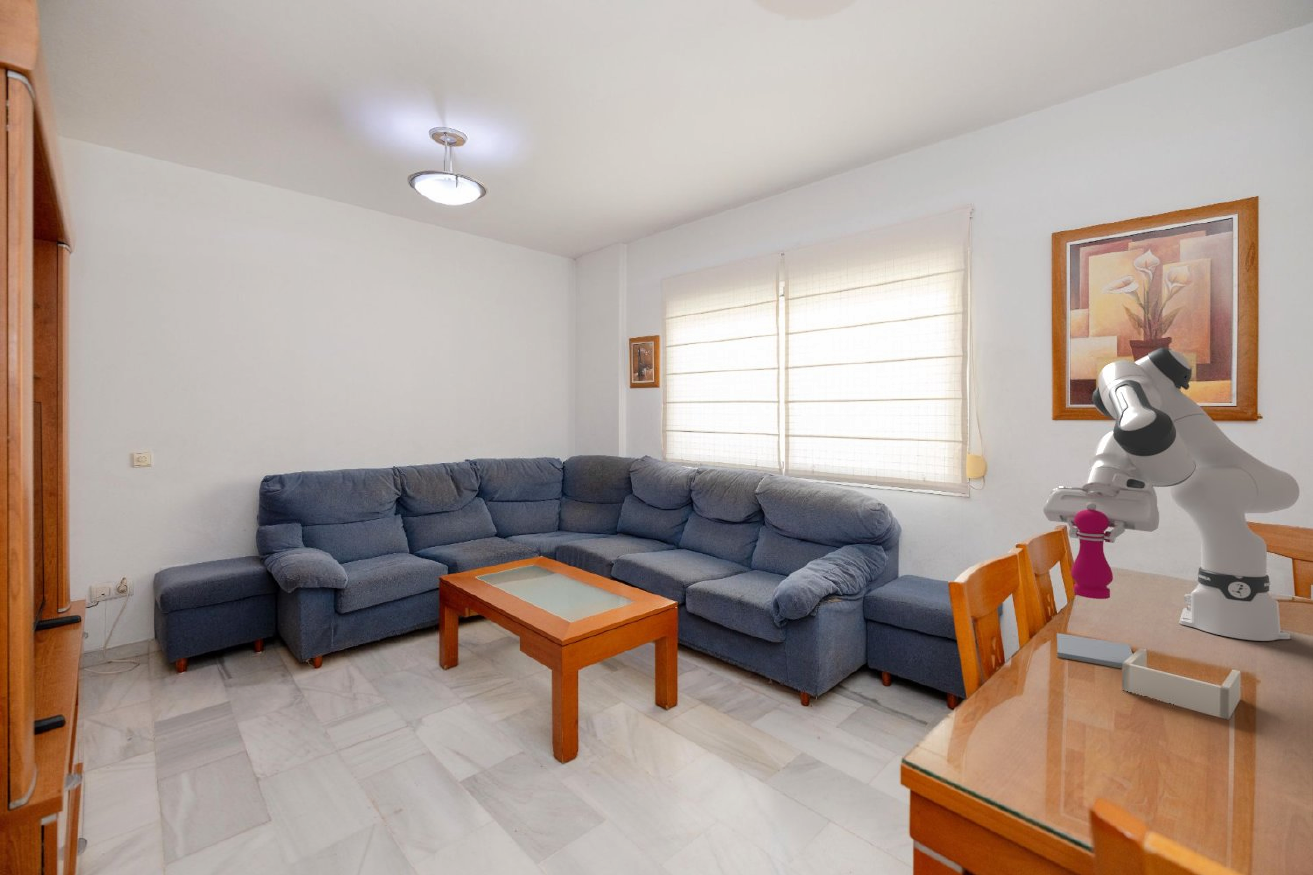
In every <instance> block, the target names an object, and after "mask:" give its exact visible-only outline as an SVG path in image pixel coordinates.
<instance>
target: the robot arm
mask: <svg viewBox="0 0 1313 875" xmlns="http://www.w3.org/2000/svg"><path fill="white" fill-rule="evenodd" d="M1147 353H1148V354H1147V355H1145V356H1143V357H1141V358H1139V359H1137V360H1135V361H1132V360H1125V359H1123V360H1122V359H1121V360H1116V361H1113V362H1110V363H1108V364H1107V365H1105V366H1104V367H1103V368H1102V369H1101V370H1100V372H1099V374H1098V380H1097V381H1098V387H1097V388H1096V389H1095V390H1094V391H1093V393H1092V396H1091V400H1092V403H1093V404H1094V406H1095V408H1096V409H1097V411H1098V412H1099V413H1100V414H1102V415H1104V416H1105V417H1107V418H1108V419H1111V420H1116V421H1115V424H1114V427H1113V430H1112V431H1109V432H1107V433H1105V434H1104V435H1103V436H1102V437H1101V438H1100V440H1098V442H1097V444H1096V445H1095V448H1094V450H1093V452H1092V455H1091V458H1090V461H1089V465H1090V468H1088V470H1087V471H1086V472H1085V476H1084V478H1083V481H1082V484H1081V487H1077V486H1075V487H1073V486H1072V487H1067V486H1059V487H1057V488H1054V489H1051V491H1050V492H1049V496H1048V498H1047V501H1046V502H1045V504H1044V506H1043V509H1042V510H1043V513H1044V516H1045V517H1046V519H1047V520H1048V521H1050V522H1056V523H1057V522H1058V523H1065V524H1066V523H1067V525H1068V527H1069V530H1068V536H1069V538H1071V539H1078V538H1077V536H1078V534H1077V532H1078V531H1079V529H1078V528H1077V527H1076V526H1075V524H1074V518H1075V516H1076V514H1077V513H1078V512H1080V511H1082V510H1088V509H1087V508H1086V505H1087V504H1088V503H1094V504H1095V505H1096V509H1095V510H1097V511H1100V512H1102V513H1104V514H1105V515H1106V516H1107V518H1108V520H1109V526H1108V528H1111V529H1112V530H1110V531H1106V530H1105V531H1104V533H1105V535H1104V542H1105V543H1110V544H1111V543H1112V544H1115V542H1116V539H1117V538H1118V537H1119V536H1121V535H1122V534H1124V533H1125V531H1126V530H1131V531H1140V532H1141V531H1142V532H1154V531H1156V530H1158V528H1159V524H1160V511H1159V507H1158V498H1157V497H1158V496H1157V493H1156V490H1155V488H1159V487H1161V488H1165V487H1170V495H1171V498H1172V499H1173V501H1174V502H1175V504H1176V505H1177V506H1178V507H1180V508H1181V509H1183V510H1184V511H1185V512H1186V513H1187V514H1188V515H1189V516H1190V518H1191V519H1192V521H1193V523H1194V525H1195V527H1196V529H1197V531H1198V535H1199V541H1200V543H1199V544H1200V567H1199V568H1198V572H1197V582H1198V584H1197V586H1196V587H1195V588H1194V589H1193V591H1191V593H1185V594H1184V603H1185V604H1188V605H1187V606H1186V607H1184V608H1183V609H1182V612H1181V615H1180V618H1179V621H1178V622H1179V624H1180V625H1182V626H1183V625H1184V626H1187V627H1191V628H1195V629H1198V630H1201V631H1203V632H1207V633H1210V634H1214V635H1220V636H1223V637H1229V638H1233V639H1239V640H1247V641H1256V642H1257V641H1262V642H1267V641H1268V642H1269V641H1275V640H1290V639H1291V634H1290V633H1288V632H1286V631H1284V630H1282V629H1281V623H1280V621H1281V620H1280V607H1279V606H1280V605H1279V601H1278V600H1277V599H1275V598H1274V597H1272V596H1271V594H1269V592H1270V585H1271V581H1270V576H1269V575H1268V574H1267V571H1268V570H1267V567H1268V566H1267V565H1268V564H1267V560H1268V559H1267V551H1268V549H1267V548H1268V547H1267V543H1266V541H1265V540H1264V538H1263V537H1262V536H1260V535H1258V534H1256V532H1254V531H1252V530H1251V528H1250V527H1249V524H1248V523H1247V520H1246V515H1245V514H1268V513H1269V514H1270V513H1274V512H1279V511H1283V510H1286V509H1289V508H1291V507H1293V506H1294V505H1296V503H1297V501H1298V500H1299V497H1300V486H1299V483H1298V482H1297V480H1296V479H1295V478H1294V477H1293V475H1291V474H1290V473H1288V472H1286V471H1283V470H1280V469H1277V468H1275V467H1273V466H1270V465H1268V464H1267V463H1264V462H1263V461H1261V460H1259V459H1258V458H1256V457H1254V455H1252V454H1250V453H1249V452H1247V451H1245V450H1244V449H1242V448H1241V447H1239V446H1238V445H1237V444H1236V443H1234V442H1233V441H1232V440H1231V439H1230V438H1229V437H1228V436H1227V435H1226V434H1225V433H1224V432H1223V430H1221V429H1220V427H1219V426H1218V425H1217V424H1216V423H1215V421H1214V420H1213V419H1212V418H1211V417H1210V415H1208V414H1207V412H1206V411H1205V410H1204V409H1203V408H1202V407H1201V406H1200V405H1199V404H1198V403H1196V402H1195V400H1193V399H1192V398H1190V397H1189V396H1187V395H1186V394H1185V393H1183V392H1182V390H1181V389H1183V390H1186V391H1188V390H1189V388H1190V384H1189V383H1190V381H1191V379H1192V372H1193V371H1192V366H1191V365H1190V363H1189V360H1188V359H1187V358H1186V356H1184V354H1182V353H1180V352H1178V351H1176V350H1174V349H1172V348H1170V347H1169V348H1168V347H1160V348H1158V349H1155V350H1153V351H1150V352H1147ZM1154 487H1155V488H1154ZM1189 604H1190V605H1189Z"/></svg>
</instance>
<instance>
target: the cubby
mask: <svg viewBox="0 0 1313 875" xmlns="http://www.w3.org/2000/svg"><path fill="white" fill-rule="evenodd" d="M1147 652H1148V651H1147V649H1146V648H1141V647H1139V648H1138V649H1137V650H1136V651H1135V652H1134V653H1133V655H1131V656H1130V657H1129V658H1128V659H1127V660H1126V661H1124V662H1123V663H1122V668H1121V671H1122V672H1121V675H1122V677H1121V678H1122V680H1121V690H1122V691H1123V690H1124V691H1123V692H1127V691H1128V692H1127V693H1130V692H1132V693H1131V694H1134V693H1136V694H1135V695H1137V694H1139V695H1138V696H1141V695H1142V697H1144V696H1148V697H1151V698H1150V699H1152V698H1155V699H1157V700H1156V701H1159V700H1160V701H1159V702H1162V701H1163V702H1162V703H1166V704H1169V703H1171V704H1170V705H1173V704H1174V706H1177V707H1180V708H1184V709H1188V710H1192V711H1194V712H1195V711H1196V712H1199V713H1202V714H1205V715H1209V716H1213V717H1216V718H1219V719H1224V720H1227V721H1228V720H1230V718H1231V716H1232V714H1233V713H1234V711H1235V709H1236V708H1237V706H1238V704H1239V702H1240V701H1241V699H1242V698H1241V690H1242V689H1241V687H1242V686H1241V685H1242V684H1241V681H1242V680H1241V677H1242V676H1241V674H1242V673H1241V670H1238V669H1232V670H1231V671H1230V672H1229V674H1228V675H1227V677H1226V678H1225V680H1224V681H1223V682H1222V684H1221V685H1220V684H1216V683H1215V684H1214V683H1211V682H1206V681H1204V680H1198V679H1195V678H1191V677H1187V676H1182V675H1178V674H1174V673H1170V672H1166V671H1163V670H1157V669H1154V668H1149V667H1148V666H1147V665H1148V664H1147V663H1148V660H1147V657H1148V656H1147V654H1148V653H1147ZM1148 697H1147V698H1148ZM1155 699H1154V700H1155Z"/></svg>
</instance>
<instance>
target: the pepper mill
mask: <svg viewBox="0 0 1313 875" xmlns="http://www.w3.org/2000/svg"><path fill="white" fill-rule="evenodd" d="M1086 508H1087V509H1088V510H1082V511H1080V512H1078V513H1077V514H1076V516H1075V518H1074V524H1075V526H1076V527H1075V526H1074V527H1075V528H1078V529H1079V531H1078V532H1077V534H1078V536H1077V538H1076V539H1078V540H1079V548H1078V553H1077V555H1076V558H1075V560H1074V561H1073V564H1072V566H1071V571H1070V575H1071V577H1072V579H1073V580H1074V581H1075V582H1076V583H1074V584H1073V594H1075V595H1076V596H1079V597H1083V598H1088V599H1093V600H1095V599H1096V600H1106V599H1109V598H1111V589H1110V588H1109V587H1108V585H1109V584H1111V583H1112V582H1113V580H1114V579H1113V578H1114V577H1113V571H1112V569H1111V566H1110V565H1109V562H1108V561H1107V559H1106V556H1105V555H1106V554H1105V552H1104V542H1105V540H1104V535H1105V532H1106V530H1107V529H1108V528H1109V527H1108V526H1109V520H1108V518H1107V516H1106V515H1105V514H1104V513H1102V512H1100V511H1097V510H1095V509H1096V505H1095V504H1094V503H1088V504H1087V505H1086Z"/></svg>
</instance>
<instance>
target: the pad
mask: <svg viewBox="0 0 1313 875" xmlns="http://www.w3.org/2000/svg"><path fill="white" fill-rule="evenodd" d="M1056 651H1057V654H1056V655H1057V658H1061V659H1068V660H1073V661H1079V662H1083V663H1084V662H1085V663H1089V664H1095V665H1102V666H1106V667H1112V668H1116V669H1117V668H1119V669H1122V663H1123V662H1124V661H1126V660H1127V659H1128V658H1129V657H1130V656H1131V655H1133V654H1134V653H1133V652H1132V649H1131V646H1130V643H1129V644H1128V643H1121V642H1115V641H1109V640H1102V639H1095V638H1090V637H1084V636H1077V635H1071V634H1064V633H1056Z"/></svg>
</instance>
